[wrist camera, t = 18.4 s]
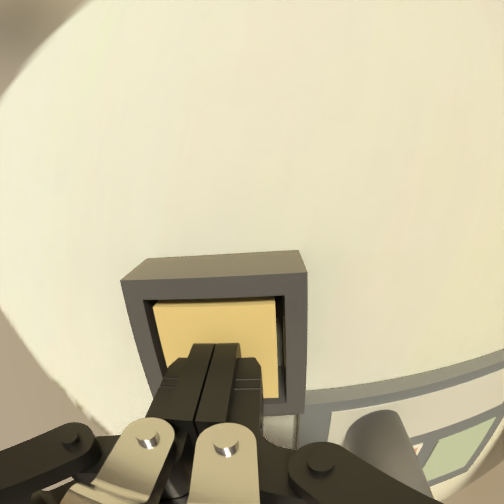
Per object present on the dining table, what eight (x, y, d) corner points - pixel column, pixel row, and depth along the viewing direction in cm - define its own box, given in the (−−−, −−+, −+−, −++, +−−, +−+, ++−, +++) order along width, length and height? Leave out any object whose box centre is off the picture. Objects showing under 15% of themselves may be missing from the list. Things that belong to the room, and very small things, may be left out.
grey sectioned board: (528, 339, 12) (537, 347, 11) (463, 464, 16) (467, 472, 15) (298, 391, 13) (300, 406, 12) (292, 505, 17) (292, 516, 16)
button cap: (273, 280, 11) (275, 304, 9) (277, 366, 12) (278, 397, 10) (170, 285, 11) (152, 307, 9) (186, 367, 12) (175, 396, 10)
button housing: (298, 250, 11) (307, 272, 9) (299, 376, 13) (304, 413, 10) (146, 258, 12) (120, 280, 9) (172, 377, 13) (158, 412, 11)
